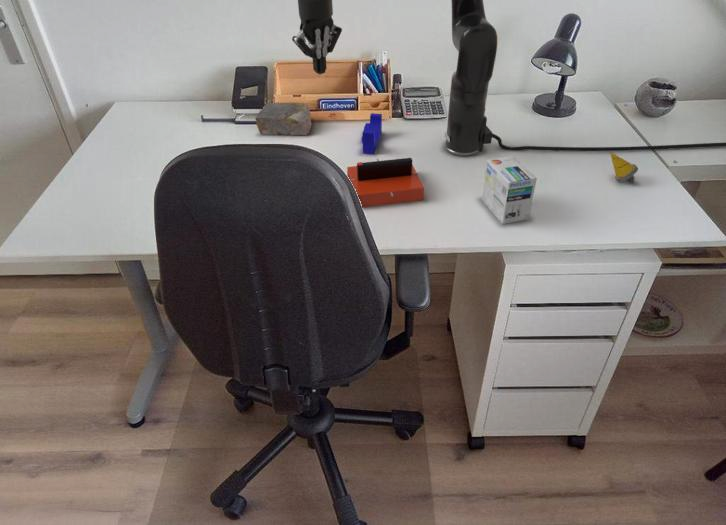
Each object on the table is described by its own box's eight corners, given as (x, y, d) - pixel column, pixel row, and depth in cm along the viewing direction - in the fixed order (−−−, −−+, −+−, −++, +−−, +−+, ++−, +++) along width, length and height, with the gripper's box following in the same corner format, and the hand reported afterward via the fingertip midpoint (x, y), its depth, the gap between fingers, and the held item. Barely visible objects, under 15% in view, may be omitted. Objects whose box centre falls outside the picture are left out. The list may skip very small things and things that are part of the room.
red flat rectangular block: (410, 168, 139) (410, 155, 137) (428, 204, 126) (429, 191, 124) (343, 175, 137) (343, 162, 135) (355, 213, 124) (354, 199, 122)
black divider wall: (410, 172, 131) (411, 156, 128) (411, 175, 129) (412, 159, 127) (357, 178, 129) (356, 162, 126) (358, 181, 128) (357, 165, 125)
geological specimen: (262, 102, 160) (312, 100, 158) (265, 121, 164) (314, 120, 162) (253, 116, 151) (306, 115, 150) (257, 137, 155) (308, 135, 154)
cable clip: (366, 132, 155) (365, 112, 151) (381, 134, 154) (381, 114, 150) (357, 152, 146) (356, 132, 142) (373, 154, 145) (373, 133, 141)
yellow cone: (629, 192, 130) (605, 160, 128) (620, 189, 135) (596, 158, 133) (648, 177, 129) (624, 145, 127) (638, 174, 134) (614, 143, 132)
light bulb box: (529, 220, 121) (538, 178, 114) (501, 225, 119) (509, 183, 112) (506, 195, 129) (513, 154, 122) (480, 199, 127) (486, 159, 120)
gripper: (299, 2, 112) (306, 84, 123) (348, -9, 119) (351, 69, 130) (279, -4, 117) (288, 75, 128) (328, -15, 123) (332, 62, 134)
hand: (320, 72), depth 129 cm, fingers closed
